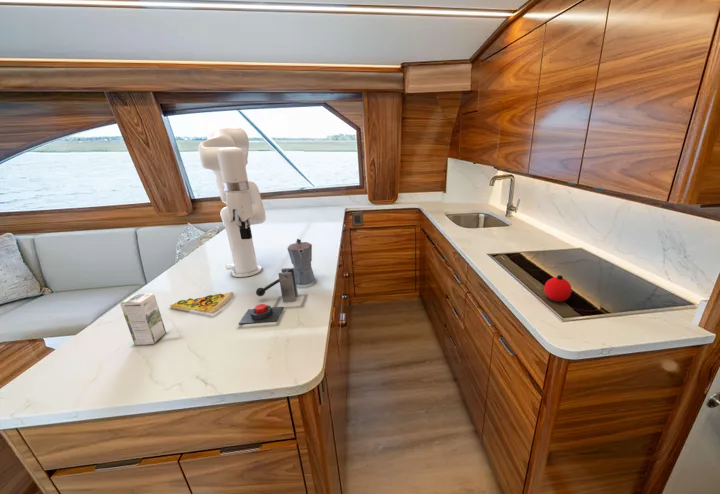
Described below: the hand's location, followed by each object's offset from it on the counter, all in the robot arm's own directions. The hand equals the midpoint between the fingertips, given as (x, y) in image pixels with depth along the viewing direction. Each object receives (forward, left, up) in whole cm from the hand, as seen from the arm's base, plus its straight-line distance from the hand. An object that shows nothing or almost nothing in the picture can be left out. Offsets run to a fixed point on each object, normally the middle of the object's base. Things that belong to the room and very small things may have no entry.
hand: (246, 238), depth 107 cm
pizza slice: (-20, -3, -25) cm, 32 cm away
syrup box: (-25, -22, -25) cm, 42 cm away
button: (+6, -15, -21) cm, 27 cm away
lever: (+8, -4, -18) cm, 20 cm away
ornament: (+112, -17, -25) cm, 116 cm away
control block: (+6, -15, -25) cm, 29 cm away
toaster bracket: (+13, -4, -25) cm, 28 cm away
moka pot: (+15, +12, -25) cm, 31 cm away
